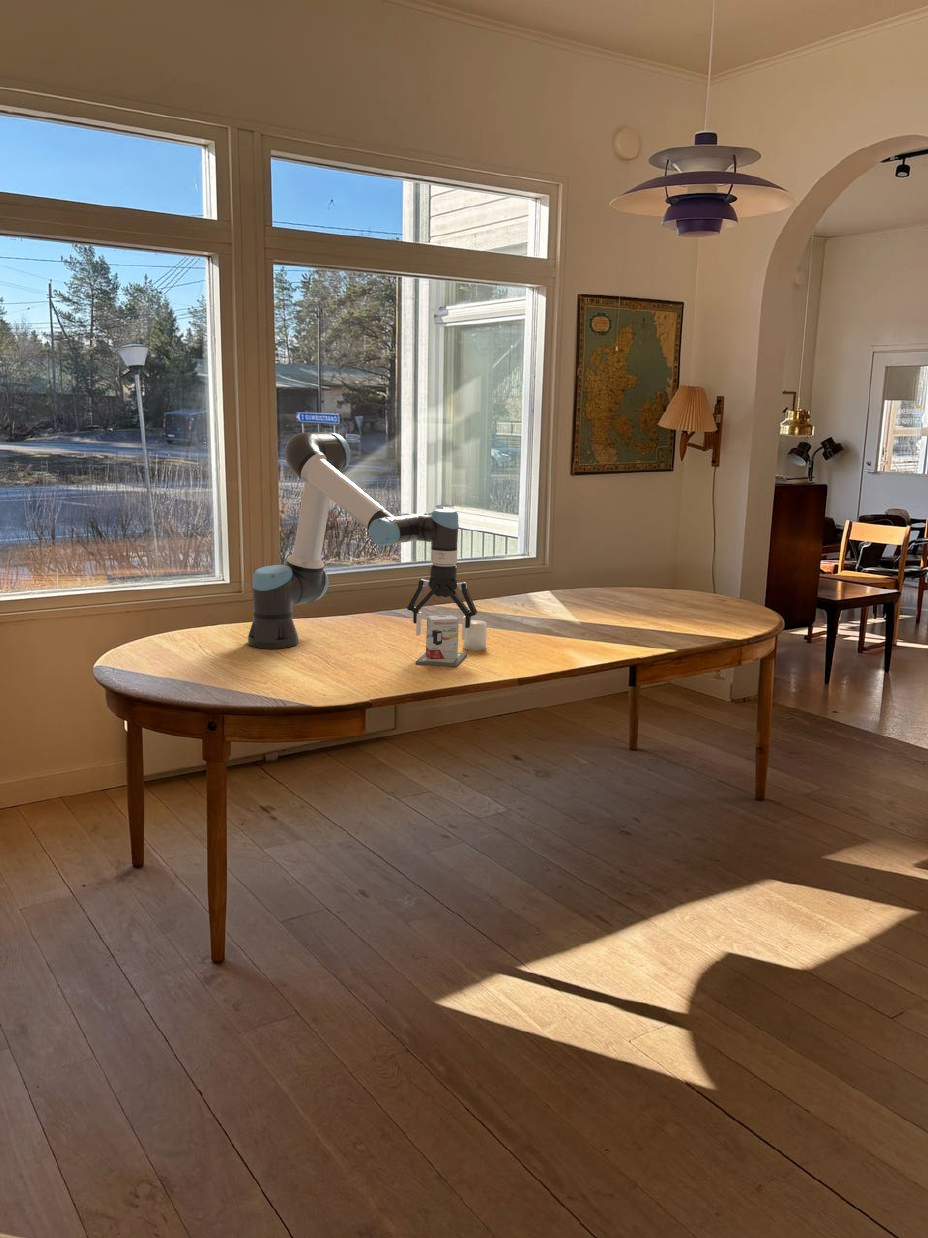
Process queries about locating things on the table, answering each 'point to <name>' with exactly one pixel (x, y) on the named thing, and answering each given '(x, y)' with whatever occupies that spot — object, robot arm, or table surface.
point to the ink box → (442, 637)
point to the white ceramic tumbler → (476, 636)
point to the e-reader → (442, 660)
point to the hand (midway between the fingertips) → (441, 636)
